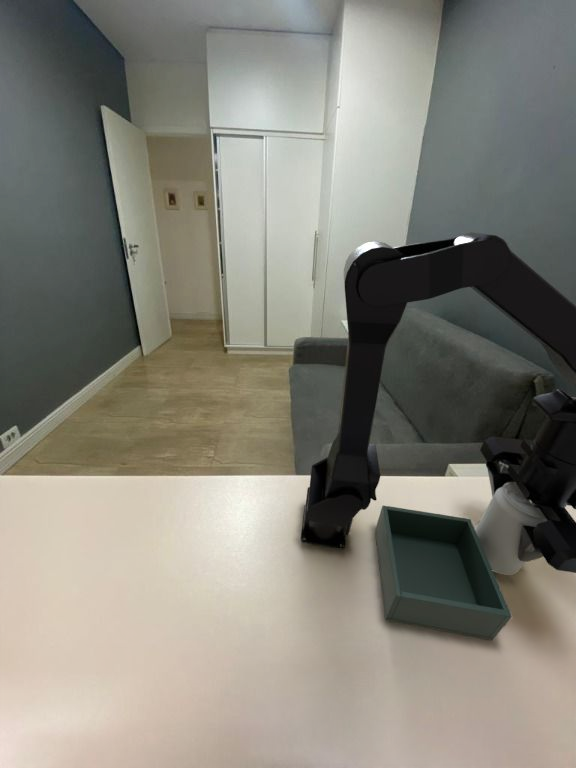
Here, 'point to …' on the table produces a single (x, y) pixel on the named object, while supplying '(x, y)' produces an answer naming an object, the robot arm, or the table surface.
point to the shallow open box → (437, 574)
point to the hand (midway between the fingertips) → (510, 536)
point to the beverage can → (506, 527)
